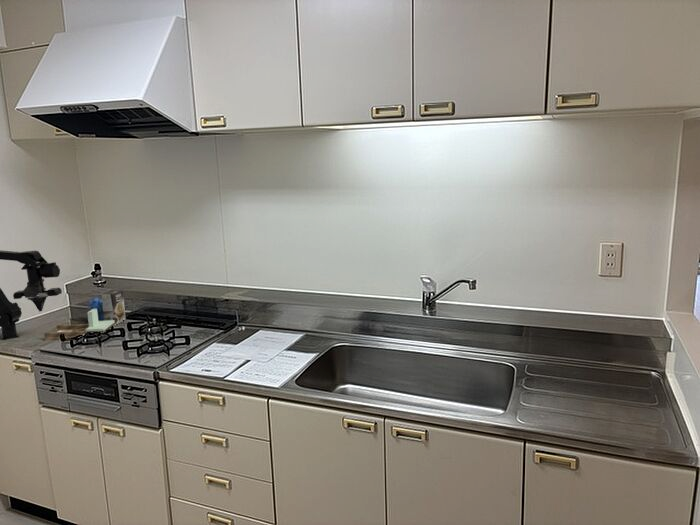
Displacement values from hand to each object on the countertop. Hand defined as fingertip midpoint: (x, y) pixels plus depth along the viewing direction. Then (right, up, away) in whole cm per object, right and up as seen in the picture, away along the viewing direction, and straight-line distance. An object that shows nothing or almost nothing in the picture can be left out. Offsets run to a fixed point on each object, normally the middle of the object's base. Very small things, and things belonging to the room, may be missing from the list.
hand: (40, 311), depth 237 cm
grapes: (+14, -8, +27) cm, 31 cm away
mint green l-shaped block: (+26, -8, +5) cm, 27 cm away
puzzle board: (+16, -11, +5) cm, 20 cm away
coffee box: (+25, -8, +22) cm, 34 cm away
